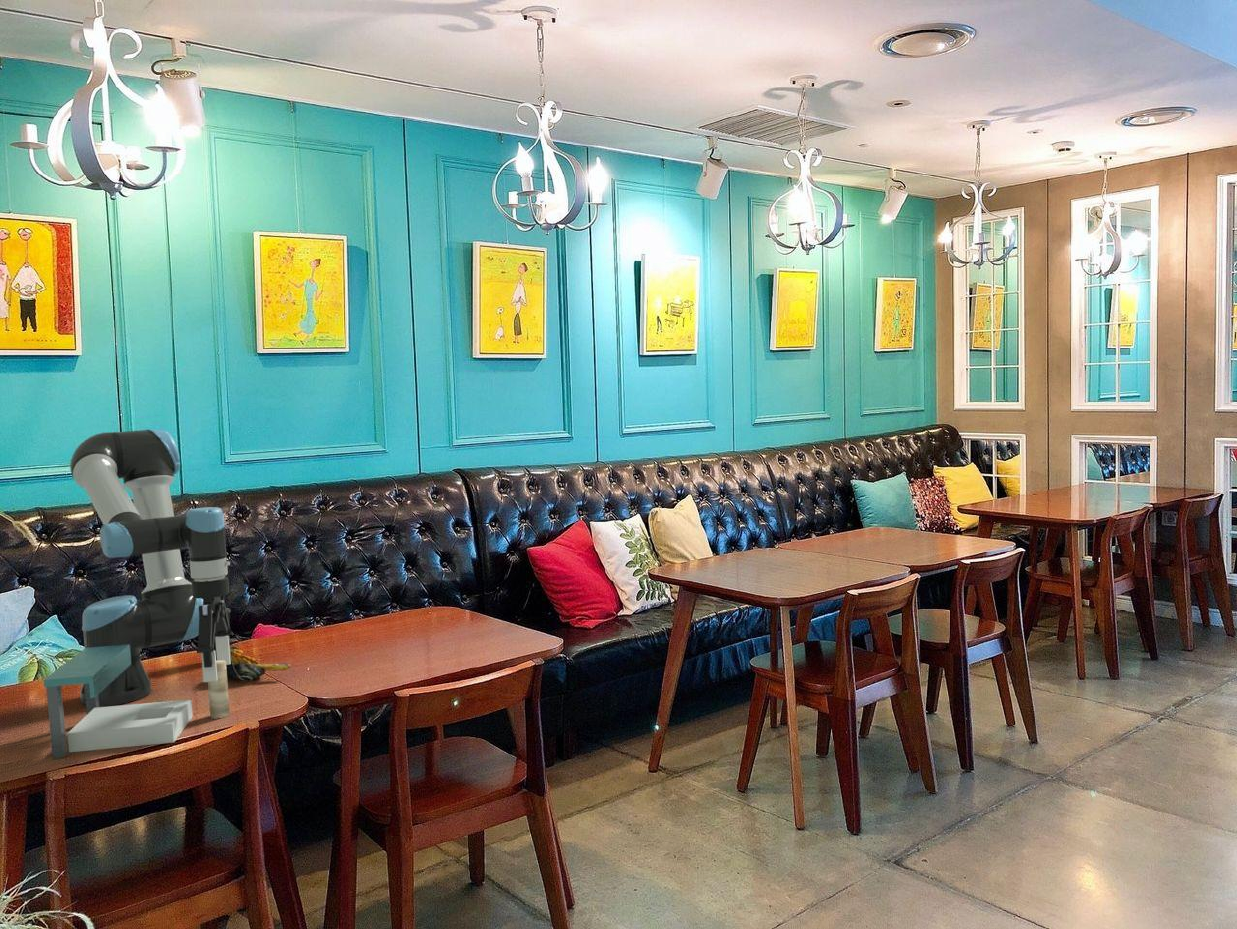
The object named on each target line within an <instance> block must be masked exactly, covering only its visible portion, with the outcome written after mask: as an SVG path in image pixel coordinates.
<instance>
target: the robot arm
mask: <svg viewBox="0 0 1237 929" xmlns="http://www.w3.org/2000/svg"><path fill="white" fill-rule="evenodd" d="M180 458H181V457H180V453H179V449H178V447H177V444H176V442H175V440H174V438H173V436H172V435H171V434H170V433H169V432H168V431H166V430H163V429H144V430H143V429H141V430H130V431H114V432H113V431H111V432H109V431H108V432H101V433H97V434H94V435H92V436H89V437H88V438H86V439H85V440H84V441H82V442H81V443H80V444H79V445H78V446H77V447H76V448H75V450H74V452H73V454H72V456H71V460H70V464H69V465H70V468H69V469H70V473H71V477H72V478H73V480H74V481H75V483H76V484H77V485H78V486H79V487H80V488H82V489H84V490H85V492H86V495H87V496H88V498H89V500H90V502H91V504H92V506H93V507H94V510H95V511H96V513H97V515H98V517H99V519H100V521H101V523H102V526H101V528H100V531H99V537H100V538H99V540H100V545H101V550H102V553H103V555H105V556H106V557H107V558H111V559H112V558H113V559H114V558H127V557H133V556H137V555H138V556H139V555H142V561H143V568H144V573H145V574H144V575H145V580H146V587H144V588H143V590H142V591H141V597H142V599H140V600H139V599H137V598H136V596H135V595H130V594H128V595H122V596H121V595H120V596H119V595H118V596H113V597H109V598H105V599H103V600H102V599H101V600H99V601H96V602H94V603H91V604H90V605H89V606H87V607H86V608H85V609H84V610H83V613H82V627H81V630H82V631H83V644H84V649H85V648H90V647H103V646H116V645H128V644H130V654H131V665H130V666H129V667H128V668H127V669H125V670H124V671H123V672H122V673H121V674H120V675H119V676H118V677H117V678H116V679H115V680H113V681H112V682H111V683H110V684H109V685H108V686H107V687H106V688H105V689H104V690H103V691H101V692H100V693H99V694H98V697H99V707H109V706H118V705H121V704H122V705H124V704H125V703H131V702H134V701H137V700H140V699H143V698H145V697H146V696H148V695H150V694H151V693H152V682H151V680H150V678H149V674H148V673H147V670H146V669H145V666H144V665H143V662H142V656H141V650H142V649H146V648H147V649H148V648H151V647H157V646H162V645H167V644H174V643H178V642H179V643H181V642H184V641H187V640H191V639H195V638H198V642H197V645H198V646H197V649H196V653H197V654H200V656H201V667H202V680H203V683H208V682H213V681H217V680H218V679H217V666H216V654H215V651H213V650H214V640H216V653H217V661H219V660H223V661H226V665H229V664H231V661H230V649H229V648H230V635H232V634H233V630H232V629H231V626H230V619H229V620H228V615H227V610H226V608H227V607H226V606H227V605H226V602H225V601H226V600H225V596H227V595H228V594H229V593H230V582H229V581H230V580H229V578H228V576H227V575H228V573H229V571H228V566H230V565H231V562H230V561H227V560H228V558H227V545H226V544H227V543H226V532H225V531H226V529H225V526H226V525H225V524H226V523H225V522H226V521H225V519H224V518H225V517H224V513H223V512H224V511H223V509H222V508H221V507H217V506H216V507H215V506H214V507H213V506H205V507H196V508H190V509H189V510H188V511H187V512H186V513H181V514H178V515H176V516H175V514H174V513H175V512H174V507H173V502H172V501H173V500H172V496H171V491H170V490H171V489H170V486H171V485H172V483H173V482H174V481H175V475H176V474H178V473H179V471H180V468H181V462H180ZM121 479H122V481H123V483H122V481H121ZM126 489H127V490H129V491H130V492H131V493H132V499H133V501H132V499H131V497H130V495H129V493H128V492H127V490H126ZM184 549H188V552H189V553H188V554H189V567H190V568H189V569H190V578H191V579H192V582H190V581H189V580H188V579H186V578H185V573H184V567H183V561H182V555H181V550H184ZM215 632H216V635H217V636H218V637H215ZM227 635H229V636H227ZM206 645H207V646H206ZM81 685H82V686H81V687H80V688H81V689H80V692H79V694H80V696H79V697H80V703H81V704H82V705H83V706H86V700H85V688H84V684H81Z"/></svg>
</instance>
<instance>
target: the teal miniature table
mask: <svg viewBox="0 0 1237 929" xmlns="http://www.w3.org/2000/svg"><path fill="white" fill-rule="evenodd" d="M130 665H131V654H130V644H128V645H116V646H103V647H90V648H85V647H84V648H83V649H82V650H81V651H80V652H78V653H77V654H75V656H73V657H72V658H71V659H70V660H68V661H66V662H65V663H64V664H63V665H61V666H60V667H59V668H57V669H56V670H55V671H53V672H52V673H51V674H49V675H48V676H47V677H45V678H44V679H43V687H44V688H46V699H47V710H48V719H49V720H48V721H49V732H50V743H51V753H52V760H56V759H64V758H66V756H67V755H68V747H67V735H66V734H67V733H66V727H65V726H66V722H65V714H64V713H65V712H64V703H63V693H62V692H63V691H62V690H63V689H62V686H63V687H65V686H74V685H76V686H77V685H83V684H84V688H85V700H86V705H85V708H86V709H85V711H86V715H87V714H88V713H89V712H91V711H92V710H93V709H94V708H98V707H100V706H99V697H98V694H99V693H100V692H101V691H103V690H104V689H105V688H106V687H107V686H108V685H109V684H110V683H111V682H112V681H113V680H115V679H116V678H117V677H118V676H119V675H120V674H121V673H122V672H123V671H124V670H125V669H127V668H128V667H129V666H130Z"/></svg>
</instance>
